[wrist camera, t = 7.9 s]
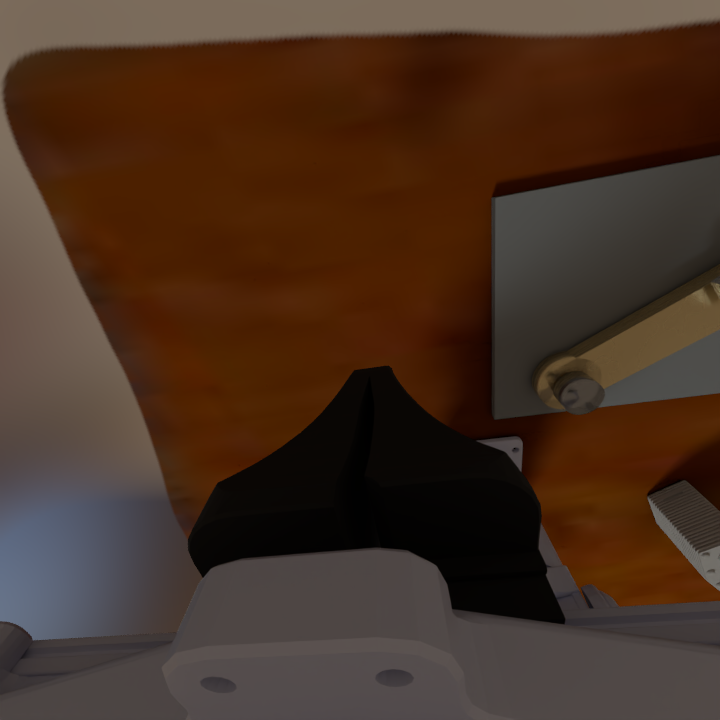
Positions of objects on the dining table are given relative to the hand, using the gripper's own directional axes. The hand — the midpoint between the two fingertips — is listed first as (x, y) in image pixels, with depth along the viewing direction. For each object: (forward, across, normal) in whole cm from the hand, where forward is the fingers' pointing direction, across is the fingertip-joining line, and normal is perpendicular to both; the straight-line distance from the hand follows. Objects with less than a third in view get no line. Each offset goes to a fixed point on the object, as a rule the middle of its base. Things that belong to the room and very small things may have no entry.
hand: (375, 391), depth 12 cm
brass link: (+9, -15, +4) cm, 17 cm away
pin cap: (+7, -11, +6) cm, 14 cm away
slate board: (+9, -15, +2) cm, 18 cm away
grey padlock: (+10, -22, +21) cm, 32 cm away
